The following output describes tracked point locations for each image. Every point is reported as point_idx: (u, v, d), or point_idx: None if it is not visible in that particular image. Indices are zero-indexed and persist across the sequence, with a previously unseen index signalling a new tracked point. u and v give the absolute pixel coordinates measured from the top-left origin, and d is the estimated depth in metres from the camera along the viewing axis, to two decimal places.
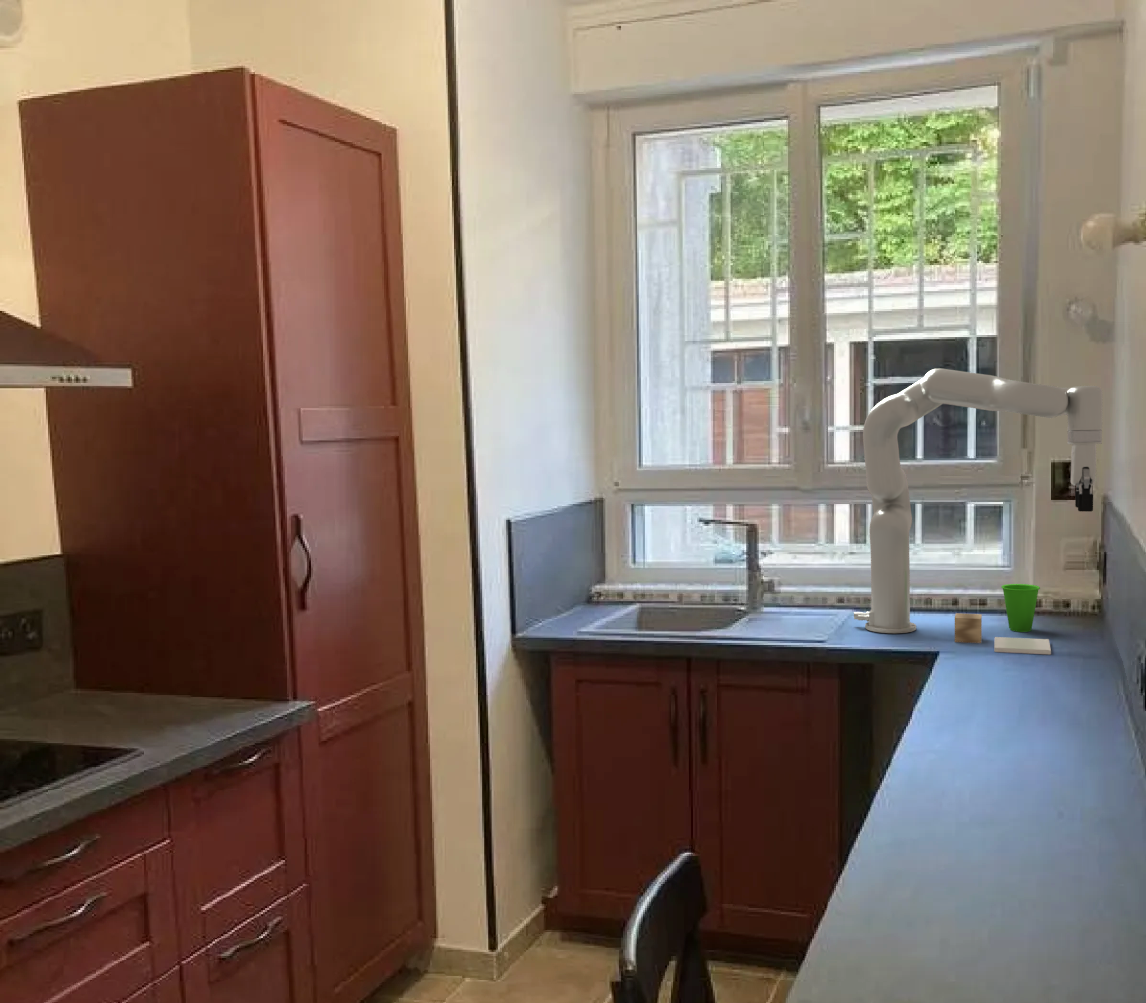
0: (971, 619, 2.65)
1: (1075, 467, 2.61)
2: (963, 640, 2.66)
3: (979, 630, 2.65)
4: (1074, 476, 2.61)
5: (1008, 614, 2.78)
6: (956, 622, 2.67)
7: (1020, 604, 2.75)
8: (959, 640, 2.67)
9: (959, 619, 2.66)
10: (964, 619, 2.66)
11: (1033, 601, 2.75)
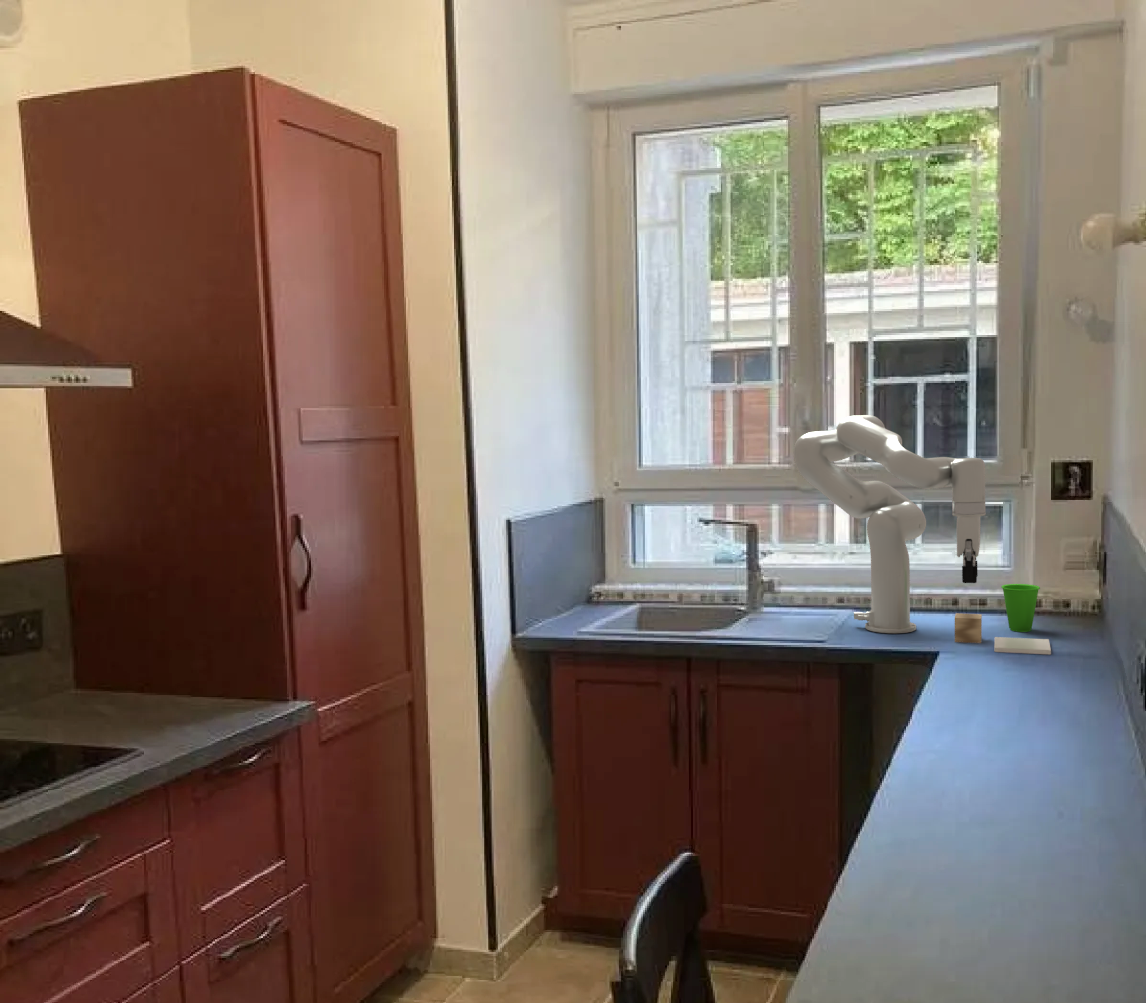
0: (971, 619, 2.65)
1: (958, 539, 2.63)
2: (963, 640, 2.66)
3: (979, 630, 2.65)
4: (958, 548, 2.63)
5: (1008, 614, 2.78)
6: (956, 622, 2.67)
7: (1020, 604, 2.75)
8: (959, 640, 2.67)
9: (959, 619, 2.66)
10: (964, 619, 2.66)
11: (1033, 601, 2.75)
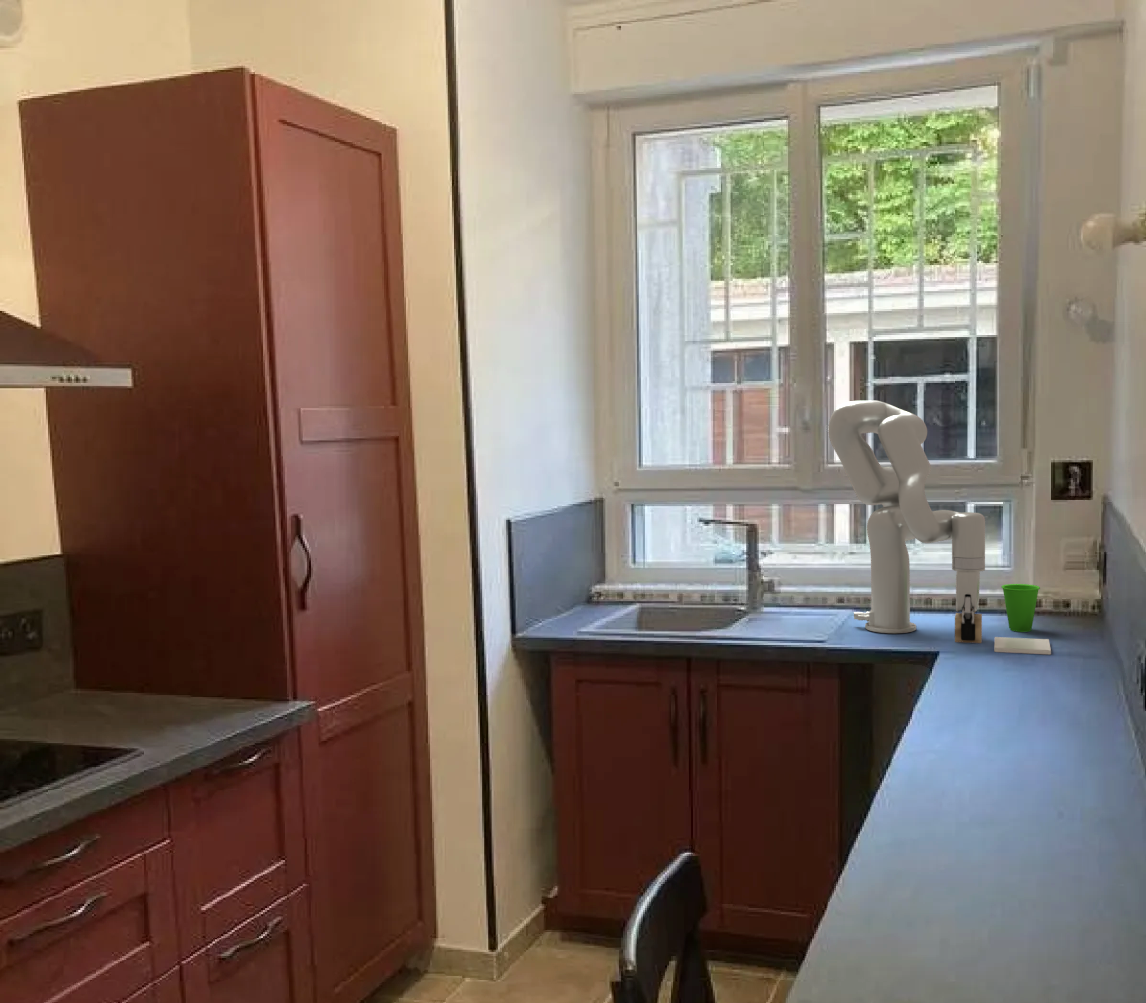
0: None
1: (958, 594, 2.64)
2: (963, 640, 2.66)
3: (979, 630, 2.65)
4: (957, 603, 2.64)
5: (1008, 614, 2.78)
6: (956, 622, 2.67)
7: (1020, 604, 2.75)
8: (959, 640, 2.67)
9: (959, 619, 2.66)
10: None
11: (1033, 601, 2.75)
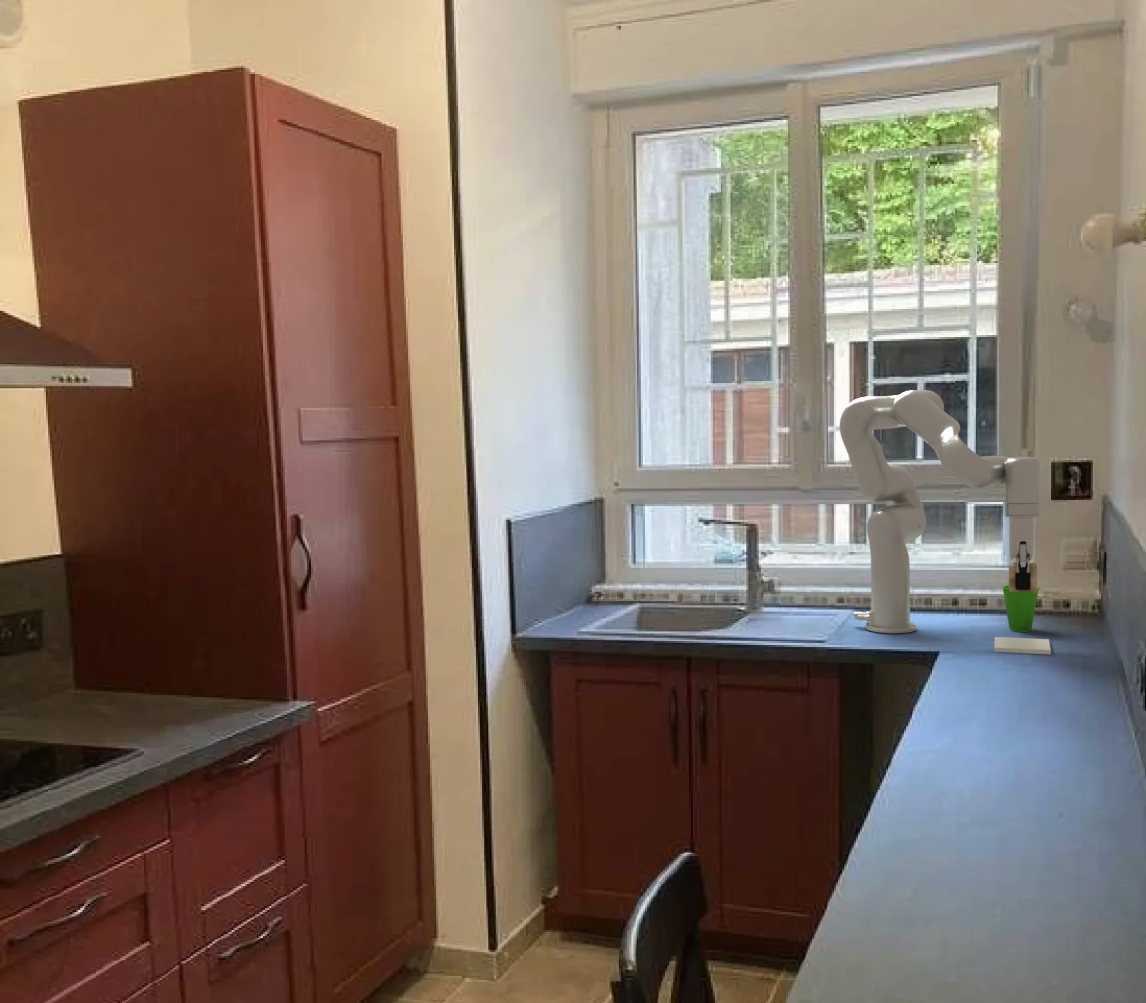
0: None
1: (1012, 541, 2.53)
2: None
3: (1035, 578, 2.54)
4: (1011, 550, 2.53)
5: (1008, 614, 2.78)
6: (1010, 570, 2.55)
7: (1020, 604, 2.75)
8: (1014, 589, 2.56)
9: (1014, 567, 2.55)
10: None
11: (1033, 601, 2.75)
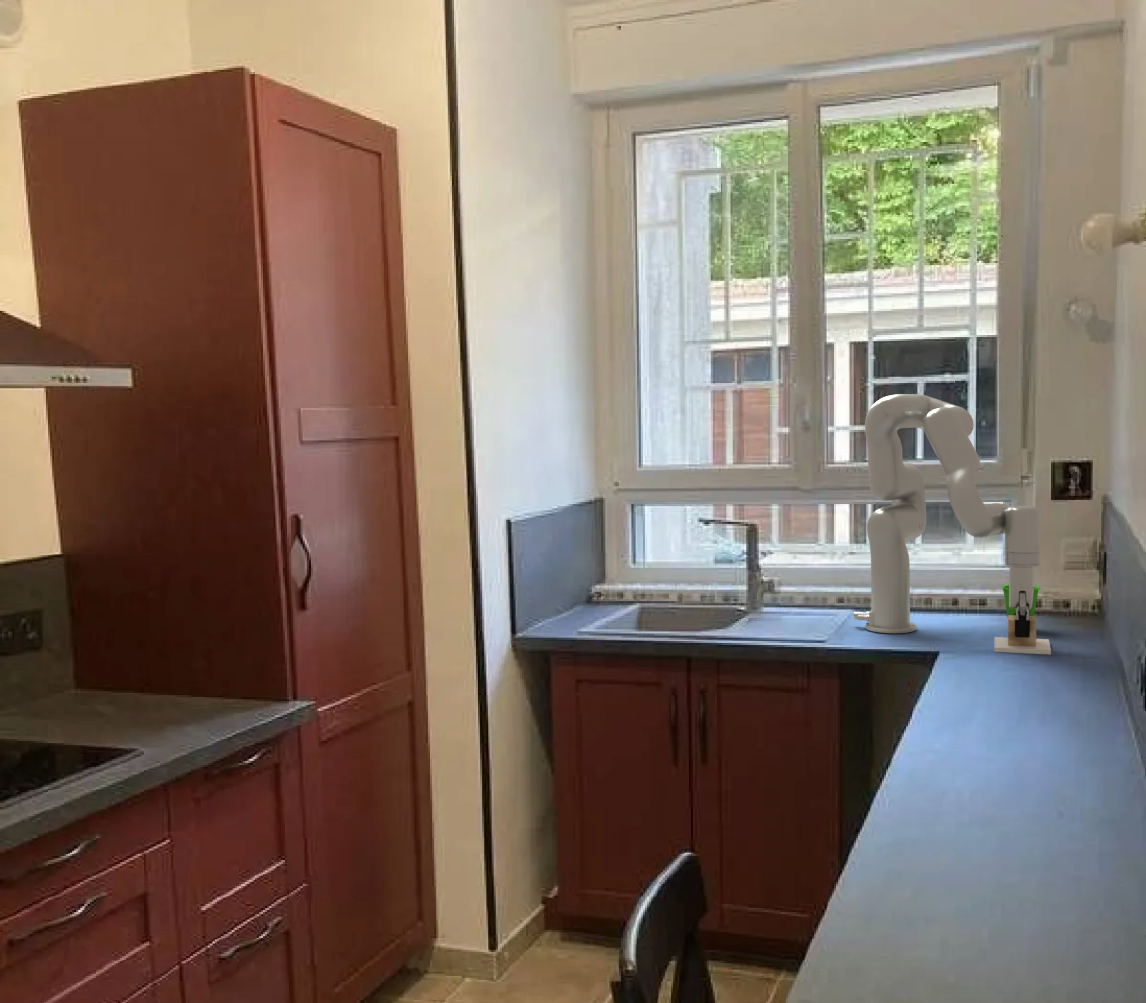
0: None
1: (1012, 590, 2.54)
2: (1017, 643, 2.56)
3: (1034, 633, 2.55)
4: (1011, 600, 2.54)
5: (1008, 614, 2.78)
6: (1010, 624, 2.57)
7: None
8: (1013, 643, 2.57)
9: (1013, 621, 2.56)
10: None
11: (1033, 601, 2.75)
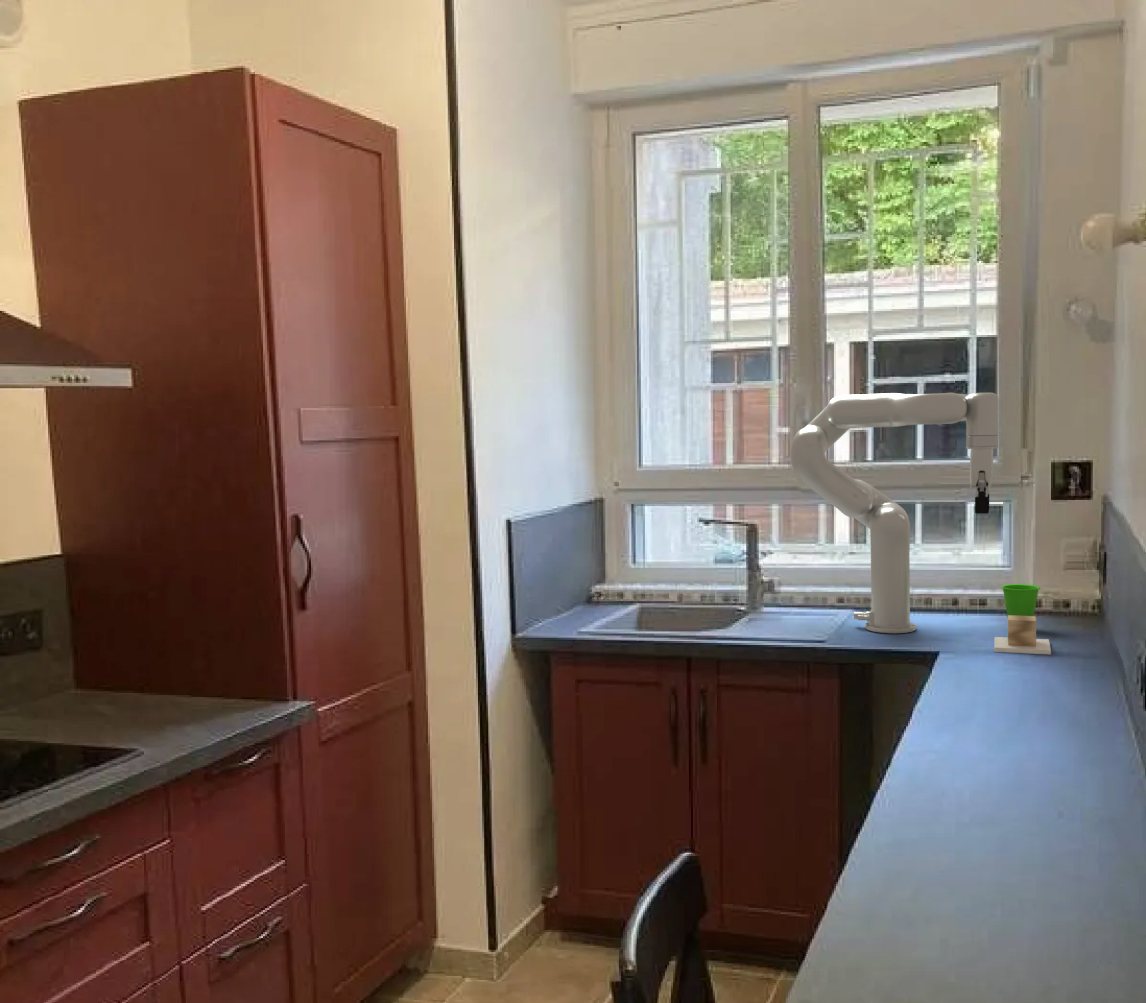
0: (1025, 621, 2.55)
1: (972, 471, 2.71)
2: (1017, 643, 2.56)
3: (1034, 633, 2.55)
4: (971, 479, 2.71)
5: (1008, 614, 2.78)
6: (1010, 624, 2.57)
7: (1020, 604, 2.75)
8: (1013, 643, 2.57)
9: (1013, 621, 2.56)
10: (1018, 621, 2.56)
11: (1033, 601, 2.75)
